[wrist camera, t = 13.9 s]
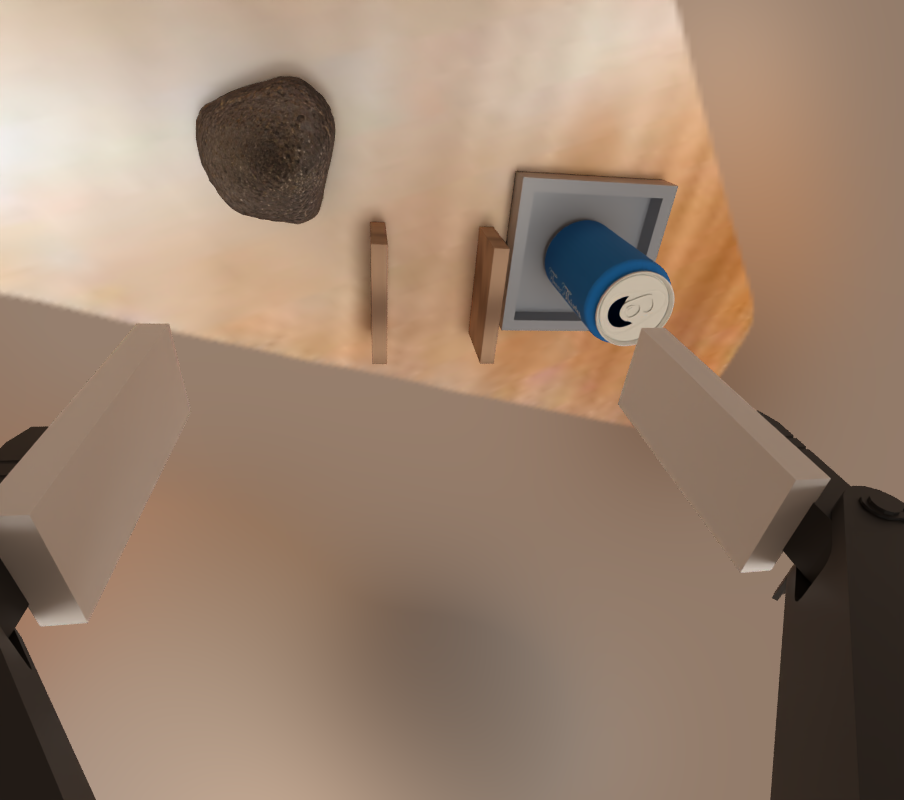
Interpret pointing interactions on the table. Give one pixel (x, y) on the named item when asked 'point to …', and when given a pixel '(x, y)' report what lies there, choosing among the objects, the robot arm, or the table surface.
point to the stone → (268, 148)
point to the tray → (549, 211)
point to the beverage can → (608, 282)
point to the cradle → (484, 295)
